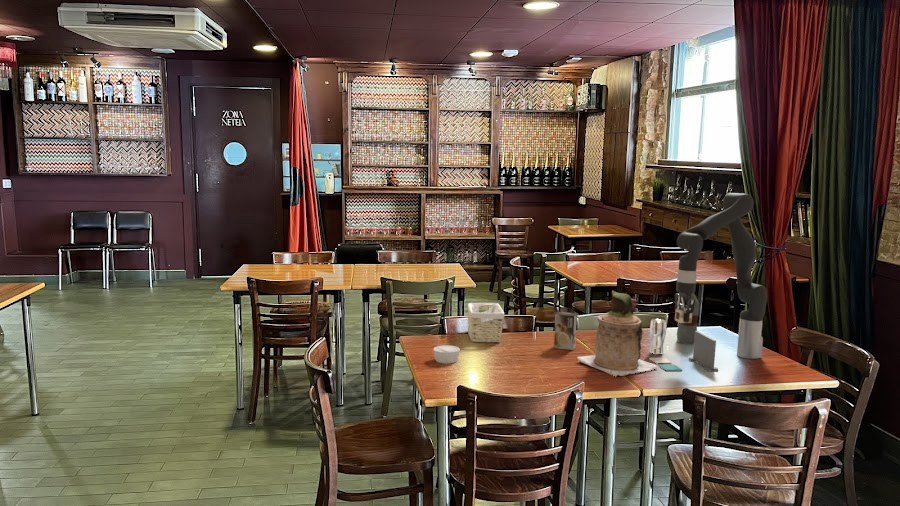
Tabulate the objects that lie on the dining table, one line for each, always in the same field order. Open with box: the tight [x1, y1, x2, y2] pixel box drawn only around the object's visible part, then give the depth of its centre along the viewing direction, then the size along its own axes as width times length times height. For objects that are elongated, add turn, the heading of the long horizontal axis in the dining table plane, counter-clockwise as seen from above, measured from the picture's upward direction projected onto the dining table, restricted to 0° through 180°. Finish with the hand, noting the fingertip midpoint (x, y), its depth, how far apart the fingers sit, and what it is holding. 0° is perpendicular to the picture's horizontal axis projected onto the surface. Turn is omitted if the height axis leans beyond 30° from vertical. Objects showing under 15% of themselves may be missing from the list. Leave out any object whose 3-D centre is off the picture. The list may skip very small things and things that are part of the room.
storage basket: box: [467, 302, 505, 343], centre depth 325 cm, size 24×16×15 cm
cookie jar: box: [576, 290, 658, 378], centre depth 282 cm, size 25×25×32 cm
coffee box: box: [553, 311, 578, 351], centre depth 309 cm, size 9×6×16 cm
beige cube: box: [674, 308, 692, 324], centre depth 283 cm, size 5×5×5 cm
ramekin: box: [432, 344, 461, 365], centre depth 286 cm, size 11×11×5 cm
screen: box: [688, 330, 719, 372], centre depth 287 cm, size 5×16×13 cm, turn 7°
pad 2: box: [658, 364, 683, 372], centre depth 282 cm, size 7×7×1 cm
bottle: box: [676, 292, 700, 345], centre depth 324 cm, size 9×9×30 cm
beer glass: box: [649, 318, 667, 355], centre depth 304 cm, size 7×7×15 cm
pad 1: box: [648, 357, 672, 365], centre depth 292 cm, size 7×7×1 cm
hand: (683, 320), depth 283 cm, fingers closed on beige cube, 5 cm apart
